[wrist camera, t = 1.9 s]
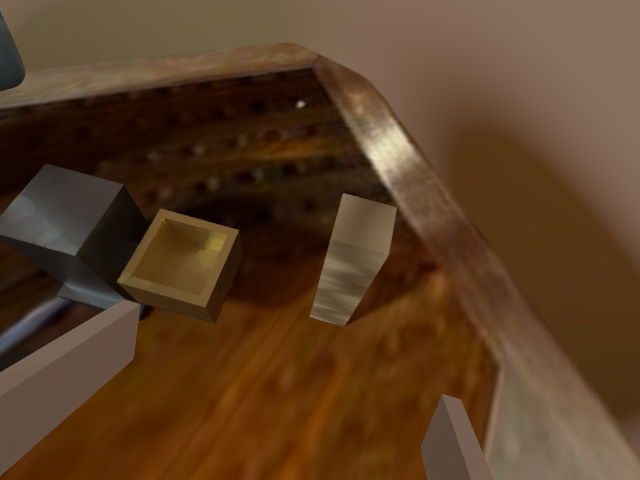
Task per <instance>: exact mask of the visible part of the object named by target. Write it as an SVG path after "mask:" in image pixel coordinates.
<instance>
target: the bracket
mask: <svg viewBox="0 0 640 480" xmlns="http://www.w3.org/2000/svg"><path fill="white" fill-rule="evenodd" d="M0 240H1V241H3V242H4V243H5V244H7V245H8V246H10V247H11V248H13V249H14V250H16V251H17V252H18V253H20V254H21V255H23V256H24V257H26V258H27V259H29V260H30V261H31V262H33V263H34V264H36V265H37V266H39V267H40V268H42V269H43V270H45V271H46V272H47V273H49V274H50V275H52V276H53V277H55V278H56V279H58V280H59V281H60V282H62V283H63V284H64V285H63V286H62V288H61V289H60V291H59V292H58V294H57V296H59V297H60V298H64V299H67V300H71V301H74V302H78V303H81V304H85V305H88V306H92V307H95V308H99V309H102V310H107V309H108V308H110V307H112V306H113V305H115V304H117V303H118V302H120V301H122V300H124V299H125V300H128V301H131V302H135V303H138V304H141V305H140V313H139V320H140V321H141V319H142V317H143V315H144V313H145V312H146V310H147V308H148V306H149V305H150V306H154V307H157V308H161V309H164V310H168V311H171V312H175V313H178V314H182V315H185V316H189V317H192V318H196V319H199V320H203V321H206V322H210V323H213V324H215V323H216V321H217V318H218V316H219V314H220V311H221V309H222V306H223V304H224V301H225V299H226V297H227V294H228V292H229V289H230V287H231V284H232V282H233V280H234V277H235V275H236V272H237V270H238V267H239V265H240V263H241V260H242V258H243V255H244V253H243V248H242V242H241V237H240V232H239V230H237V229H233V228H229V227H226V226H222V225H218V224H215V223H211V222H207V221H204V220H200V219H197V218H193V217H189V216H186V215H182V214H178V213H175V212H171V211H167V210H164V209H160V210H159V212H158V213H157V215H156V217H155V219H154V220H153V222H152V224H151V225H150V226H149V224H148V223H147V221H146V220H145V218H144V216H143V215H142V213H141V212H140V210H139V208H138V207H137V205H136V204H135V202H134V201H133V199H132V197H131V196H130V194H129V193H128V191H127V189H126V188H125V186H124V185H123V184H119V183H115V182H112V181H108V180H104V179H101V178H97V177H93V176H90V175H86V174H83V173H79V172H75V171H72V170H68V169H64V168H61V167H57V166H53V165H50V164H45V165H44V166H43V168H42V169H41V170H40V171H39V172H38V173H37V175H36V176H35V177H34V178H33V179H32V180H31V181H30V183H29V184H28V185H27V186H26V187H25V188H24V189H23V191H22V192H21V193H20V194H19V195H18V196H17V198H16V199H15V200H14V201H13V202H12V203H11V204H10V206H9V207H8V208H7V209H6V210H5V211H4V213H3V214H2V215H1V216H0Z"/></svg>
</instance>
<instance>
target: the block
mask: <svg viewBox="0 0 640 480" xmlns="http://www.w3.org/2000/svg"><path fill="white" fill-rule="evenodd" d="M396 210H397V207H393V206H389V205H385V204H382V203H378V202H374V201H371V200H367V199H363V198H359V197H356V196H352V195H348V194H344V193H343V196H342V200H341V203H340V207H339V211H338V214H337V218H336V222H335V225H334V229H333V232H332V236H331V240H330V243H329V247H328V251H327V255H326V258H325V262H324V266H323V270H322V273H321V277H320V281H319V285H318V288H317V292H316V296H315V299H314V303H313V307H312V311H311V314H310V317H312V318H315V319H319V320H322V321H326V322H329V323H333V324H337V325H340V326H344V327H345V325H346V323H347V322H348V320H349V318H350V317H351V315H352V314H353V312H354V310H355V309H356V307H357V306H358V304H359V302H360V301H361V299H362V297H363V296H364V294H365V293H366V291H367V289H368V288H369V286H370V285H371V283H372V281H373V280H374V278H375V277H376V275H377V273H378V272H379V270H380V268H381V267H382V265H383V264H384V262H385V260H386V259H387V257H388V256H389V251H390V245H391V239H392V233H393V228H394V222H395V216H396Z"/></svg>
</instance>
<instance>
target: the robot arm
mask: <svg viewBox="0 0 640 480" xmlns="http://www.w3.org/2000/svg"><path fill="white" fill-rule="evenodd" d="M24 78H25V69H24V65H23V62H22V59H21V57H20V54H19V52H18V49H17V47H16V45H15V42H14V40H13V38H12V35H11V33H10V31H9V29H8V27H7V24H6V22H5V20H4V18H3V16H2V14H1V12H0V91H4V90H7V89H11V88H14V87H17V86H18V85H20V83H22V81H23V79H24ZM140 305H141V304H138V303H135V302H131V301H128V300H125V299H124V300H122V301H120V302H118V303H117V304H115V305H113V306H112V307H110V308H108V309H107V310H105V311H103V312H102V313H100V314H98V315H96V316H95V317H93V318H91V319H90V320H88V321H86V322H85V323H83V324H81V325H80V326H78V327H76V328H74V329H73V330H71V331H69V332H68V333H66V334H64V335H63V336H61V337H59V338H58V339H56V340H54V341H52V342H51V343H49V344H47V345H46V346H44V347H42V348H41V349H39V350H37V351H36V352H35V351H32V350H29V349H26V350H23V351H20V352H17V353H14V354H11V355H8V356H6V357H4V358H2V359H0V476H1V475H2V474H3V473H4V472H5V471H6V470H8V469H9V468H10V467H11V466H12V465H13V464H14V463H16V462H17V461H18V460H19V459H20V458H21V457H22V456H23V455H25V454H26V453H27V452H28V451H29V450H30V449H31V448H33V447H34V446H35V445H36V444H37V443H38V442H39V441H41V440H42V439H43V438H44V437H45V436H46V435H47V434H49V433H50V432H51V431H52V430H53V429H54V428H55V427H57V426H58V425H59V424H60V423H61V422H62V421H63V420H65V419H66V418H67V417H68V416H69V415H70V414H71V413H73V412H74V411H75V410H76V409H77V408H78V407H79V406H81V405H82V404H83V403H84V402H85V401H86V400H87V399H89V398H90V397H91V396H92V395H93V394H94V393H95V392H97V391H98V390H99V389H100V388H101V387H102V386H103V385H104V384H106V383H107V382H108V381H109V380H110V379H111V378H112V377H114V376H115V375H116V374H117V373H118V372H119V371H120V370H122V369H123V368H124V367H125V366H126V365H127V364H128V363H130V362H131V361H132V360H133V358H134V351H135V343H136V336H137V328H138V321H139V313H140ZM421 452H422V457H423V462H424V467H425V472H426V477H427V480H493V477H492V475H491V473H490V470H489V468H488V465H487V463H486V460H485V458H484V455H483V453H482V450H481V448H480V446H479V443H478V441H477V438H476V436H475V433H474V431H473V428H472V426H471V423H470V421H469V419H468V416H467V414H466V411H465V409H464V406H463V404H462V401H461V399H457V398H454V397H451V396H447V395H444V394H442V396H441V398H440V401H439V403H438V406H437V408H436V411H435V413H434V416H433V418H432V420H431V423H430V425H429V428H428V430H427V433H426V435H425V438H424V440H423V443H422V445H421Z"/></svg>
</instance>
